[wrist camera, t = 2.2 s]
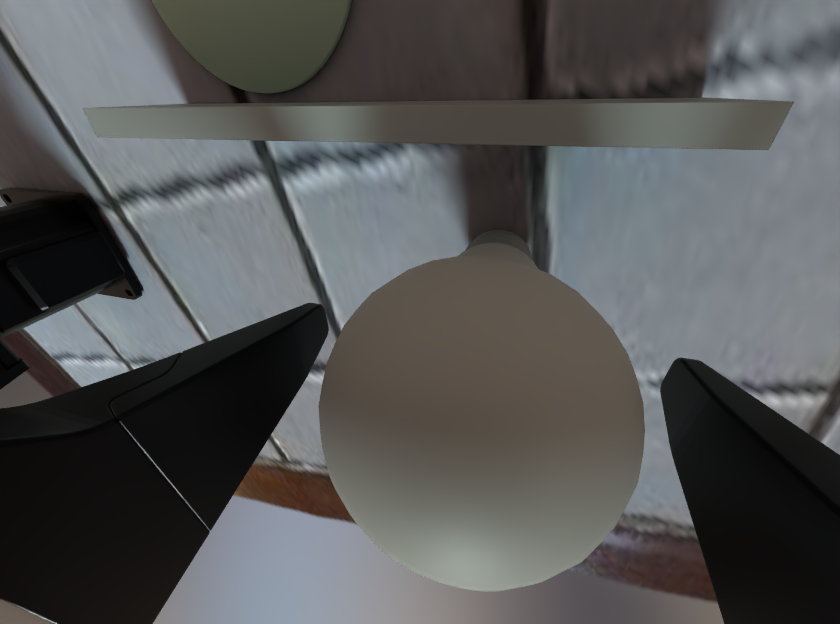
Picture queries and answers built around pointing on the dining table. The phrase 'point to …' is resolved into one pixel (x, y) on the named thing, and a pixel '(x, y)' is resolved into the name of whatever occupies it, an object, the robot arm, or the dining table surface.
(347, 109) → the grey-green flat bar
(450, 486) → the lightbulb
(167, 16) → the pad
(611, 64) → the dining table surface
